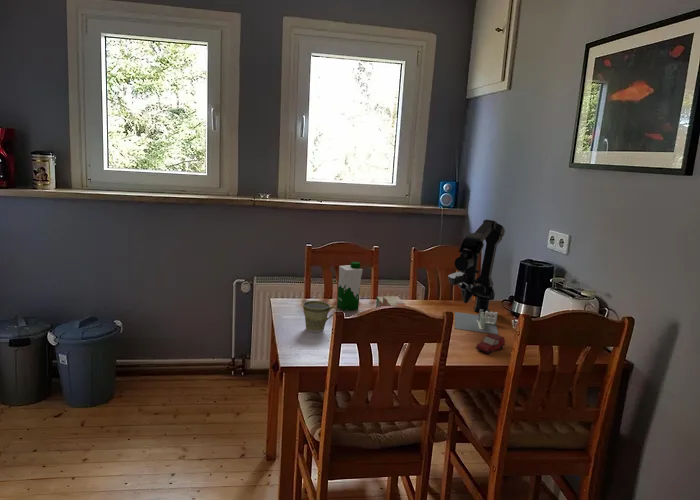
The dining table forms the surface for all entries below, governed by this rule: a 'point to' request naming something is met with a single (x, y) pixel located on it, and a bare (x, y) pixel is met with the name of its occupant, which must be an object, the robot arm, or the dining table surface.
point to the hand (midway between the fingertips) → (465, 302)
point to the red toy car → (491, 343)
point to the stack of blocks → (389, 301)
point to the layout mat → (473, 323)
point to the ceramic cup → (316, 315)
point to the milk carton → (349, 286)
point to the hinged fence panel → (482, 319)
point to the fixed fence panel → (489, 317)
